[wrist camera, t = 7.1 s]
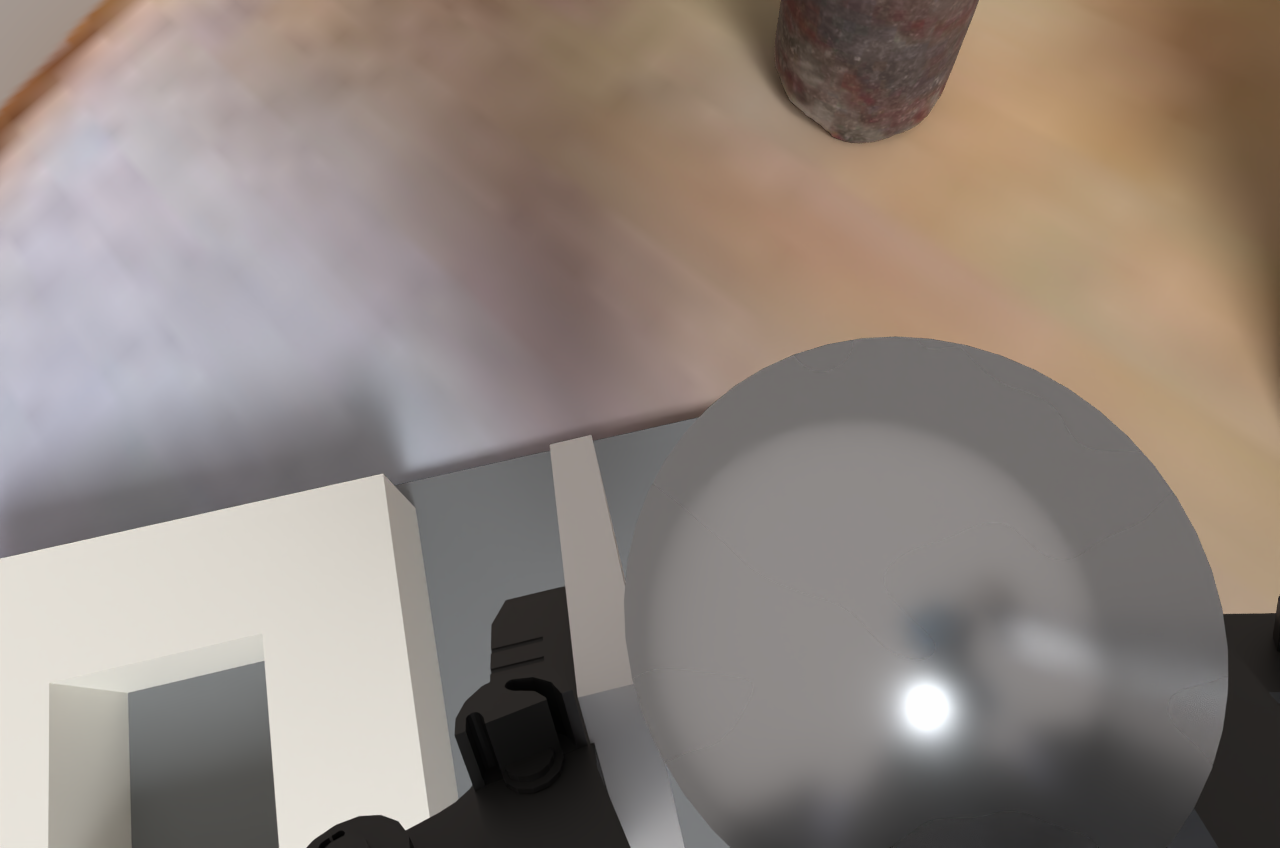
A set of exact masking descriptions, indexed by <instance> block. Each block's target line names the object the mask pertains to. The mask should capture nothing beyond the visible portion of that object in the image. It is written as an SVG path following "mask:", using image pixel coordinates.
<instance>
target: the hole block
mask: <svg viewBox="0 0 1280 848" xmlns="http://www.w3.org/2000/svg"><path fill="white" fill-rule="evenodd" d="M261 661H265V674H266V687H267V700H268V712H269V725H270V738H271V750H272V763H273V776H274V788H275V801H276V814H277V827H278V839H279V848H306V847H307V846H308V845H309V844H310V843H311V842H312V841H313V840H314V839H315V838H317V837H318V836H320V835H321V834H323V833H324V832H326V831H327V830H329V829H330V828H332V827H333V826H335V825H336V824H339V823H342V822H345V821H347V820H350V819H353V818H355V817H358V816H369V815H383V816H386V817H388V818H391V819H394V820H396V821H399V823H400V824H401V825H402V827H403V828H404V829H405V830H407V829H409V828H411V827H413V826H415V825H417V824H419V823H420V822H422V821H424V820H426V819H428V818H430V817H432V816H434V815H435V814H437V813H439V812H441V811H442V810H444V809H445V808H447V807H448V806H450V805H452V804H453V803H455V802H456V801H457V800H458V792H457V786H456V779H455V772H454V765H453V758H452V752H451V745H450V738H449V731H448V725H447V718H446V711H445V704H444V697H443V691H442V684H441V677H440V670H439V664H438V657H437V650H436V643H435V636H434V630H433V623H432V616H431V609H430V603H429V596H428V589H427V582H426V575H425V569H424V562H423V555H422V548H421V542H420V535H419V528H418V521H417V514H416V508H415V507H414V506H413V505H412V504H411V503H410V502H409V501H408V500H407V499H406V497H405V496H404V495H403V494H402V493H401V492H400V491H399V490H398V489H397V488H396V487H395V486H394V485H393V484H392V483H391V481H390V480H389V479H388V478H387V477H386V476H385V475H384V474H379V475H374V476H370V477H365V478H361V479H356V480H352V481H347V482H343V483H338V484H334V485H329V486H325V487H320V488H316V489H311V490H307V491H302V492H298V493H293V494H289V495H284V496H280V497H275V498H271V499H266V500H262V501H257V502H253V503H248V504H244V505H239V506H235V507H230V508H226V509H221V510H217V511H212V512H208V513H203V514H199V515H194V516H190V517H185V518H181V519H176V520H172V521H167V522H163V523H158V524H154V525H149V526H145V527H140V528H136V529H131V530H127V531H122V532H118V533H113V534H109V535H104V536H100V537H95V538H91V539H86V540H82V541H77V542H73V543H68V544H64V545H59V546H55V547H50V548H46V549H41V550H37V551H32V552H28V553H23V554H19V555H14V556H10V557H5V558H1V559H0V848H132V840H131V799H130V758H129V717H128V693H129V692H134V691H138V690H142V689H146V688H151V687H155V686H159V685H163V684H168V683H172V682H176V681H180V680H185V679H189V678H193V677H197V676H202V675H206V674H210V673H214V672H219V671H223V670H227V669H231V668H236V667H240V666H244V665H248V664H253V663H257V662H261Z"/></svg>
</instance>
